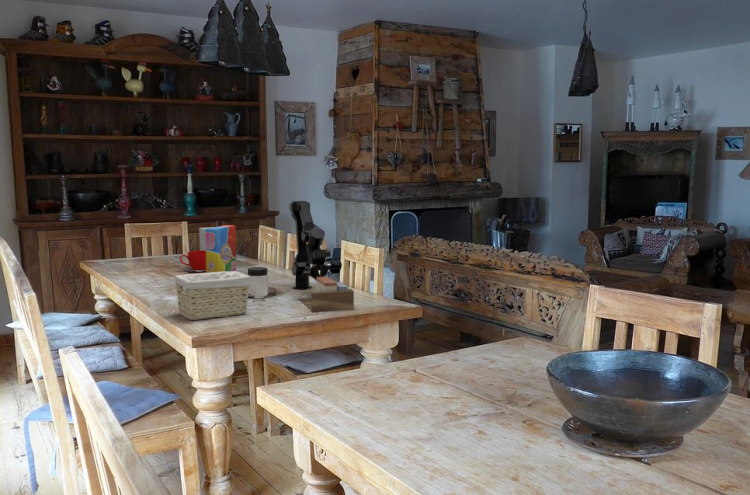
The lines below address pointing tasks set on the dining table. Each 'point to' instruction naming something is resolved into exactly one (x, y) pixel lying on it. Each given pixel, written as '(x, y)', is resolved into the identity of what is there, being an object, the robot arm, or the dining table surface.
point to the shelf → (330, 301)
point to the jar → (258, 282)
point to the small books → (342, 287)
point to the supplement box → (203, 238)
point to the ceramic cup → (196, 260)
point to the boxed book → (326, 284)
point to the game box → (221, 249)
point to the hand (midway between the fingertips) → (321, 285)
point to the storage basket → (212, 294)
